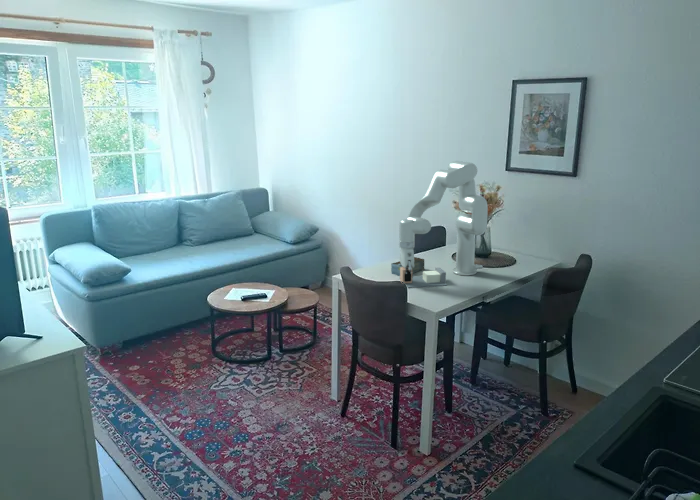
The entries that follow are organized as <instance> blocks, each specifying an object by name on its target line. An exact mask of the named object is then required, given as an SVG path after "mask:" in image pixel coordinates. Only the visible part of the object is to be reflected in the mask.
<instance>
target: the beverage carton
mask: <svg viewBox="0 0 700 500" xmlns="http://www.w3.org/2000/svg"><path fill="white" fill-rule="evenodd" d="M400 267H402V265H401V263H400V260H399V261H397V262H396V261H395V262H393V263H391V268H390V269H391V270H390V271H391V274H392V275H395V276H399V277H400ZM411 268H412V267H411ZM412 269H413V274H415V273H417V272H421V271H425V259H424V258H421V257H415V256H414V268H412Z"/></svg>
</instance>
